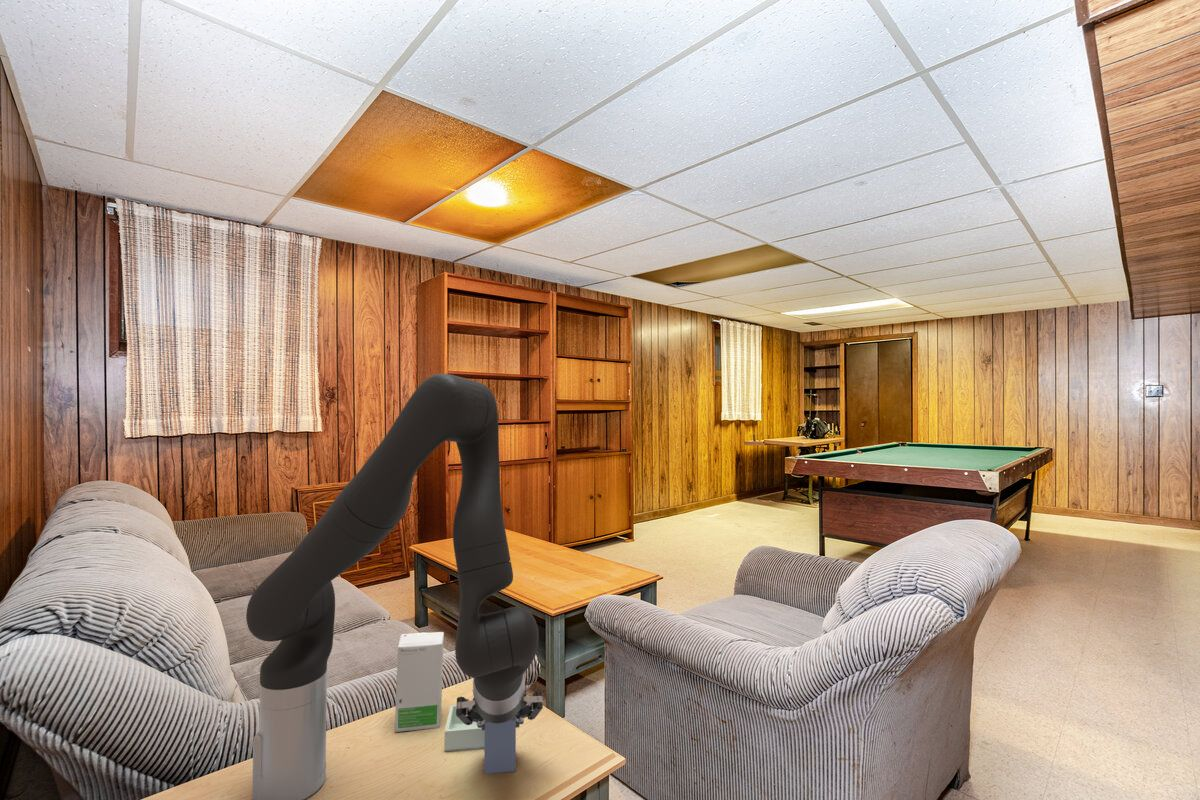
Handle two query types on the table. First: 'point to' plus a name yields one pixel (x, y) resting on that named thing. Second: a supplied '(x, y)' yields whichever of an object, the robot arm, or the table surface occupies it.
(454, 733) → the tray
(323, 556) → the robot arm
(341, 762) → the table surface
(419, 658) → the skincare box
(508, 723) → the tea box
